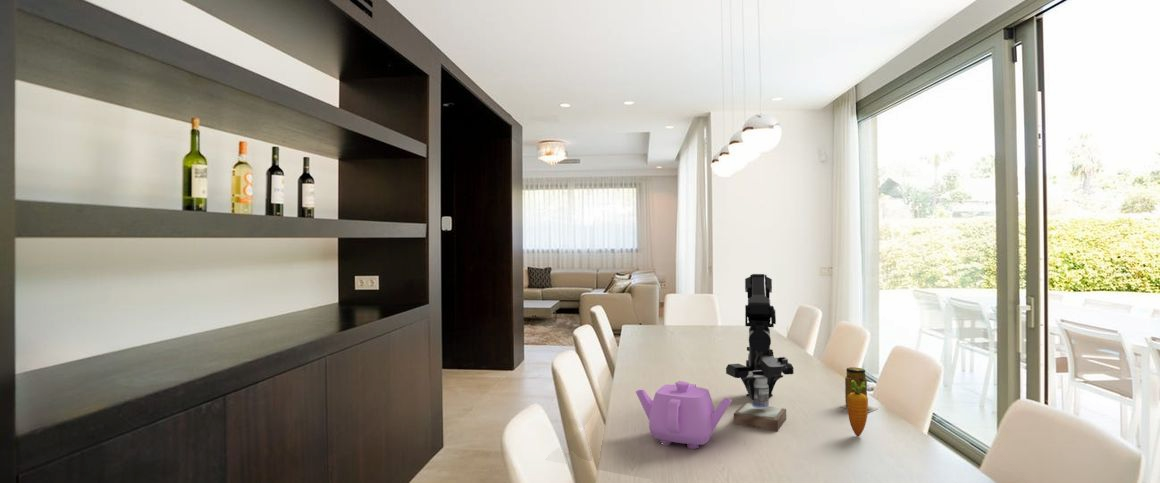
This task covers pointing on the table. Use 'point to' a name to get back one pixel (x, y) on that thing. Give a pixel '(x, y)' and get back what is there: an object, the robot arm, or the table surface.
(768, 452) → the table surface
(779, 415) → the pedestal
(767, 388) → the pill bottle
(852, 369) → the condiment
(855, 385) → the carrot
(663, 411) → the teapot
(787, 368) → the robot arm
